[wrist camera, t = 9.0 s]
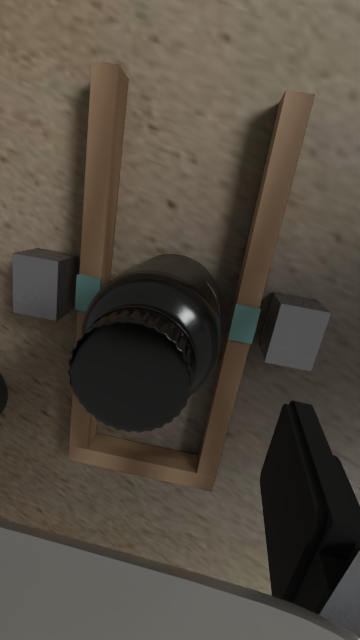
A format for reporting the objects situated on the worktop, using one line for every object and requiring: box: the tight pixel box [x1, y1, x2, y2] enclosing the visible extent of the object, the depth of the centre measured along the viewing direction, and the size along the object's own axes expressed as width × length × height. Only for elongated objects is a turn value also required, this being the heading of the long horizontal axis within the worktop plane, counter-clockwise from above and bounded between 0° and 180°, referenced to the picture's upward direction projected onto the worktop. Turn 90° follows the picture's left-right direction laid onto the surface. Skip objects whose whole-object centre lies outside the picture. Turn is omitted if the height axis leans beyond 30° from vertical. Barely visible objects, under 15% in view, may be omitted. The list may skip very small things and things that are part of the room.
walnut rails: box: [69, 61, 315, 492], centre depth 22 cm, size 12×28×2 cm, turn 171°
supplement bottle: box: [68, 254, 221, 432], centre depth 18 cm, size 7×7×12 cm
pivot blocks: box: [12, 248, 331, 371], centre depth 22 cm, size 20×4×3 cm, turn 81°
